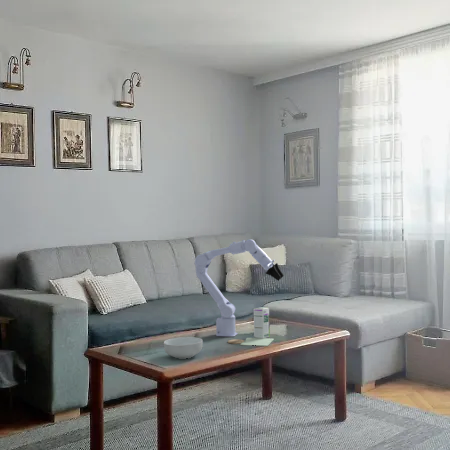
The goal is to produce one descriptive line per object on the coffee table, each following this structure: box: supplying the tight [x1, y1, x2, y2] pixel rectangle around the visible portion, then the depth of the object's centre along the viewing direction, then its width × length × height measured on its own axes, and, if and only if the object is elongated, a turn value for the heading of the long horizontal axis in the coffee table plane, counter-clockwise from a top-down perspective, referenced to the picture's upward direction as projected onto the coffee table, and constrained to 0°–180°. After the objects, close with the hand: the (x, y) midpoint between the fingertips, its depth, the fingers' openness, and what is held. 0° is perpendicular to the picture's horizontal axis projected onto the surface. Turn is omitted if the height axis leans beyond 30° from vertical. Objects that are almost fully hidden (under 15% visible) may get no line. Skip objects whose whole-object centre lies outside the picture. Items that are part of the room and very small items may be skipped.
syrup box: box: [253, 306, 271, 338], centre depth 287 cm, size 6×6×14 cm
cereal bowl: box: [163, 336, 204, 360], centre depth 249 cm, size 17×17×7 cm
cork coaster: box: [227, 338, 245, 345], centre depth 277 cm, size 8×8×1 cm
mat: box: [239, 337, 275, 347], centre depth 276 cm, size 13×16×1 cm
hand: (281, 278), depth 289 cm, fingers open, 7 cm apart
